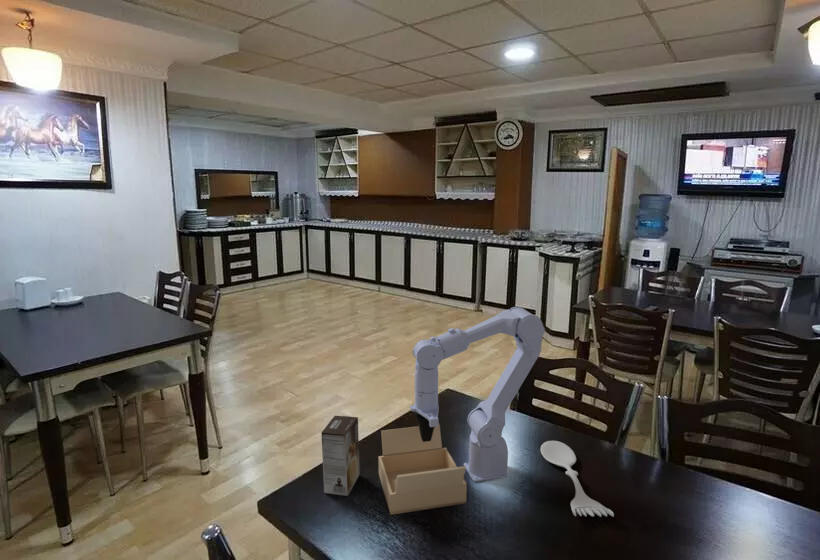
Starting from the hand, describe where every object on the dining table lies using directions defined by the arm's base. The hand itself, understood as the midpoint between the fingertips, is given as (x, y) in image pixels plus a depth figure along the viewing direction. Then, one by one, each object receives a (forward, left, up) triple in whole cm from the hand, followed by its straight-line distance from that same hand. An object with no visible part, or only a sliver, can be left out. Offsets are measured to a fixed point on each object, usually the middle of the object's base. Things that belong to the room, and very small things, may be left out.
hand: (426, 440), depth 117 cm
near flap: (+3, +13, -2) cm, 13 cm away
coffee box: (+21, -2, -10) cm, 24 cm away
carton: (+2, +4, -10) cm, 11 cm away
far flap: (+3, -5, -2) cm, 6 cm away
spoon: (-35, +10, -11) cm, 38 cm away
